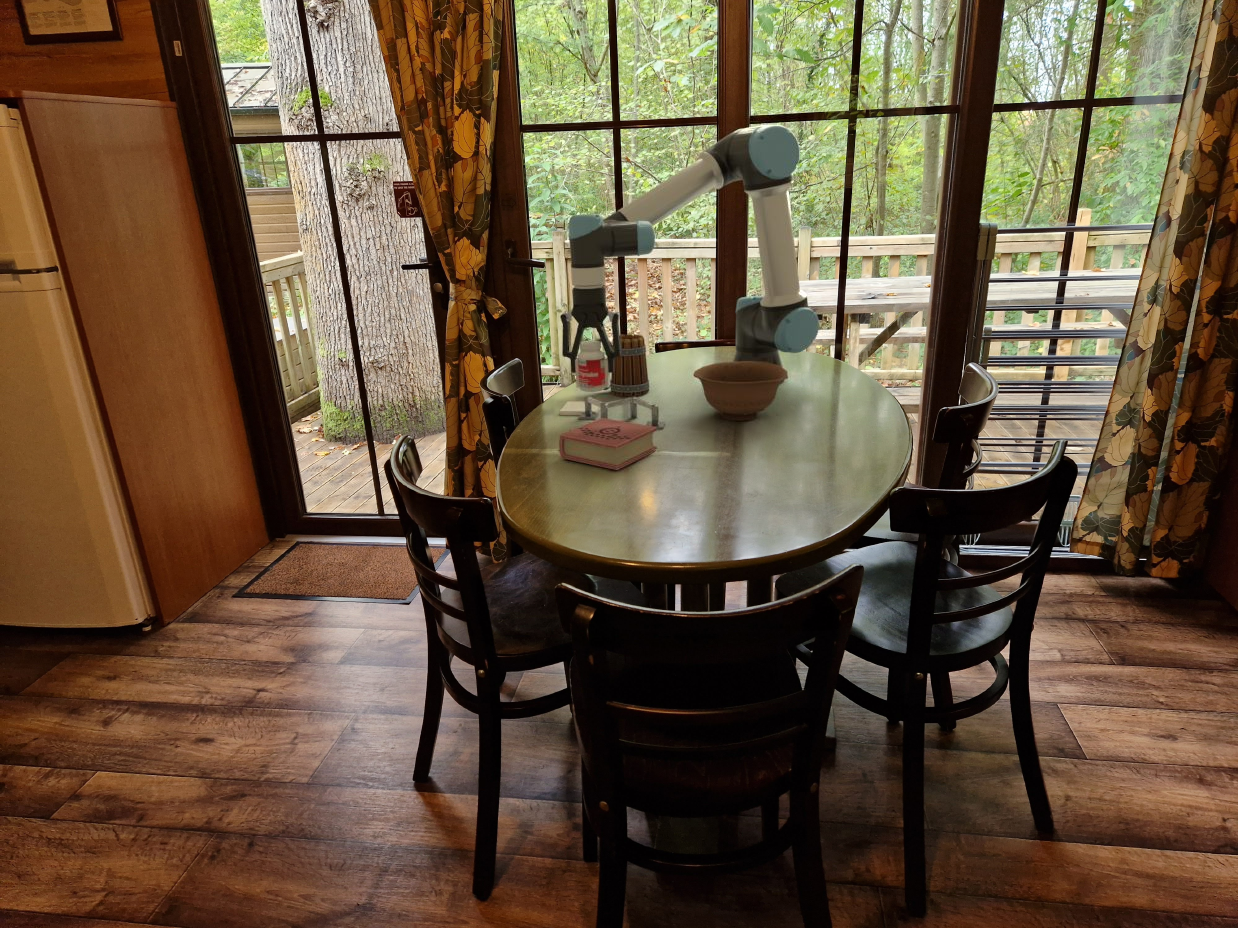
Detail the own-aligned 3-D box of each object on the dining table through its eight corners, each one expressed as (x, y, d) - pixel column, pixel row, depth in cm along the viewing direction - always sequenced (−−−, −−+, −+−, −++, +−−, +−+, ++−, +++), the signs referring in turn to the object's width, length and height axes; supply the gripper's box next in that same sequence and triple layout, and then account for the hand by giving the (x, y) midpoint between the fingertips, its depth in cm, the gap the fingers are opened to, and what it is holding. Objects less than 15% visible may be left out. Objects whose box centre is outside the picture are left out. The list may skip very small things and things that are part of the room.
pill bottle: (575, 391, 182) (572, 344, 178) (586, 385, 187) (584, 339, 184) (599, 393, 180) (597, 345, 176) (610, 386, 185) (608, 340, 181)
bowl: (804, 412, 187) (806, 367, 183) (752, 435, 172) (753, 386, 168) (728, 398, 201) (729, 356, 198) (674, 418, 186) (673, 373, 183)
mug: (650, 387, 215) (649, 333, 210) (648, 397, 206) (647, 340, 201) (594, 388, 217) (592, 334, 212) (589, 397, 207) (586, 341, 202)
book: (599, 438, 174) (599, 417, 173) (657, 449, 166) (656, 427, 164) (558, 457, 164) (556, 434, 162) (617, 470, 155) (616, 446, 153)
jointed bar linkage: (667, 415, 188) (667, 395, 187) (663, 429, 178) (662, 407, 177) (582, 414, 192) (581, 394, 190) (572, 427, 182) (571, 407, 180)
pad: (602, 405, 199) (602, 401, 199) (596, 415, 191) (595, 411, 190) (568, 405, 201) (567, 401, 200) (559, 415, 192) (559, 411, 192)
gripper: (633, 283, 179) (636, 382, 187) (551, 285, 182) (557, 382, 189) (628, 287, 172) (631, 390, 180) (543, 289, 175) (550, 390, 182)
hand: (593, 386), depth 184 cm, fingers closed on pill bottle, 6 cm apart
